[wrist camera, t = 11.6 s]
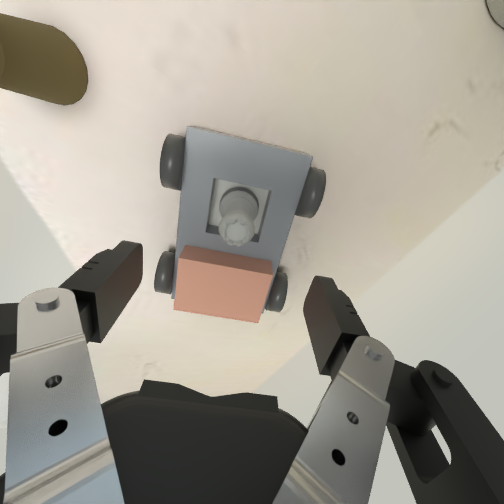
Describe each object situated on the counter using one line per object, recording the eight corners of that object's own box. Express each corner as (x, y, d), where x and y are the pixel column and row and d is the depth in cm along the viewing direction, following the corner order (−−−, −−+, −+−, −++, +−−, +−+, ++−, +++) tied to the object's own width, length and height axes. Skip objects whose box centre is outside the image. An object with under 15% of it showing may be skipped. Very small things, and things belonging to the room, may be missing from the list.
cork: (100, 93, 24) (-2, 76, 14) (46, 113, 25) (-87, 110, 15) (61, 12, 21) (-100, -79, 11) (1, 37, 22) (-198, -28, 12)
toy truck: (320, 156, 27) (338, 165, 21) (272, 300, 36) (276, 332, 30) (177, 121, 25) (158, 122, 20) (165, 282, 34) (150, 312, 29)
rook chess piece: (237, 176, 27) (233, 197, 20) (267, 203, 28) (273, 232, 21) (211, 206, 28) (199, 235, 21) (241, 230, 30) (238, 265, 23)
